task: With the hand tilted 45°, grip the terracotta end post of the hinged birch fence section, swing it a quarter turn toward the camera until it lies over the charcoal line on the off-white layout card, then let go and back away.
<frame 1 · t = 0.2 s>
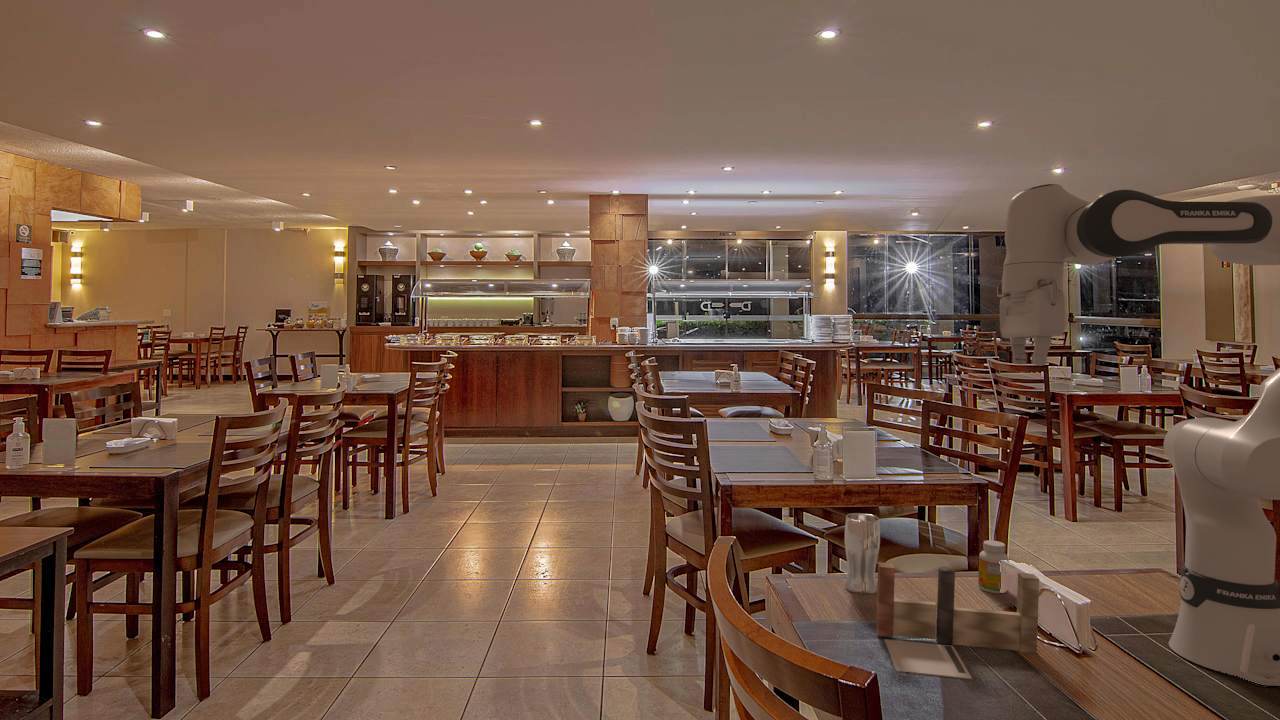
hand: (1028, 364, 113), 48 cm above the table, tool pointing down, fingers open, 8 cm apart
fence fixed: (985, 646, 113), on the table
supplement bottle: (992, 590, 139), on the table
beer glass: (860, 589, 138), on the table
fence gate: (906, 601, 116), point 7 cm above the table, hinge at 0.0°
layout card: (925, 658, 109), on the table
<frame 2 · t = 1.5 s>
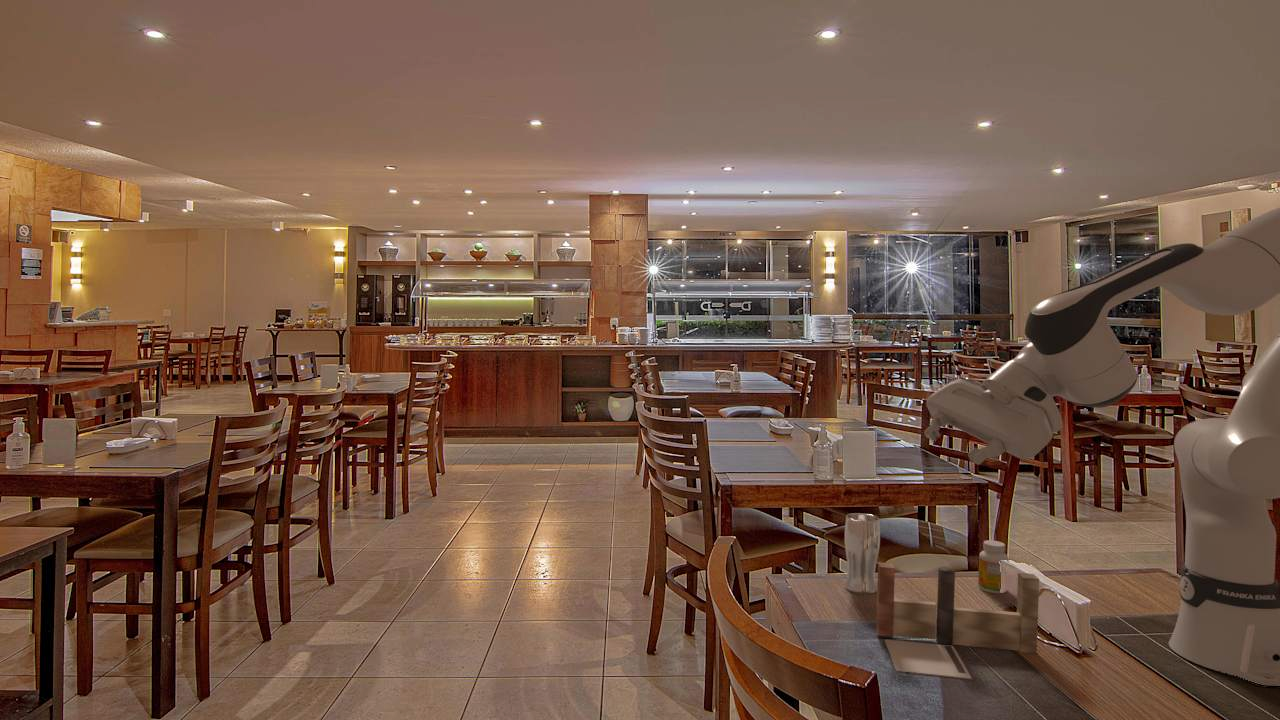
hand: (949, 448, 108), 34 cm above the table, tool tilted 50°, fingers open, 8 cm apart
nothing on the table moved.
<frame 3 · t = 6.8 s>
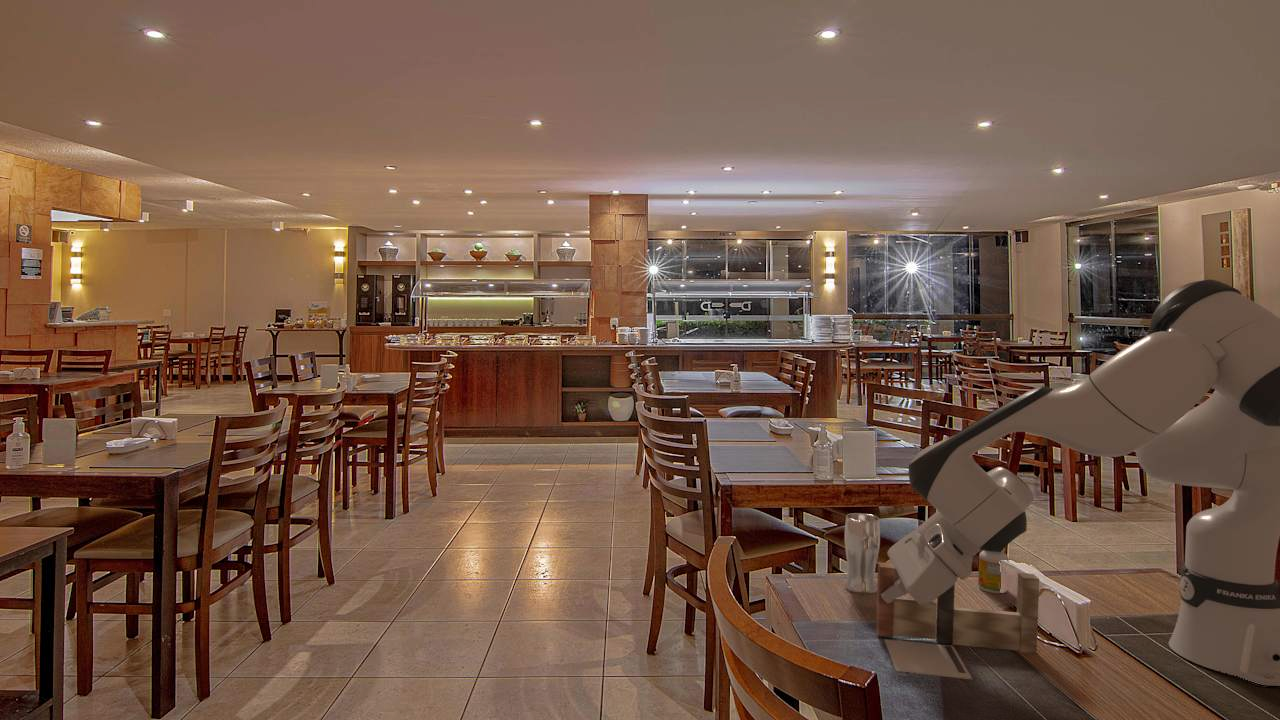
hand: (881, 594, 116), 7 cm above the table, tool tilted 45°, fingers closed on fence gate, 2 cm apart
fence gate: (906, 601, 116), point 7 cm above the table, hinge at 0.0°, touching gripper
everything else where it was.
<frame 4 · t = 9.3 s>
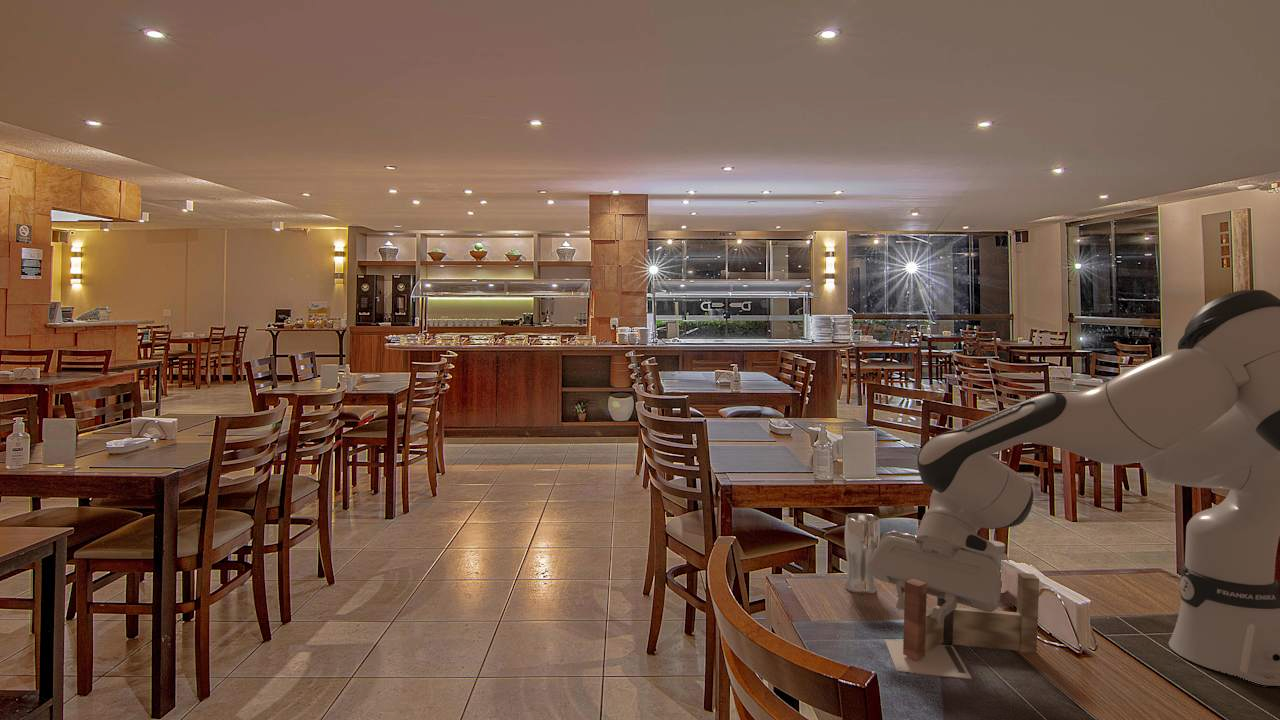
hand: (918, 616, 107), 7 cm above the table, tool tilted 45°, fingers open, 4 cm apart
fence gate: (926, 613, 111), point 7 cm above the table, hinge at 49.2°, touching gripper
everything else where it was.
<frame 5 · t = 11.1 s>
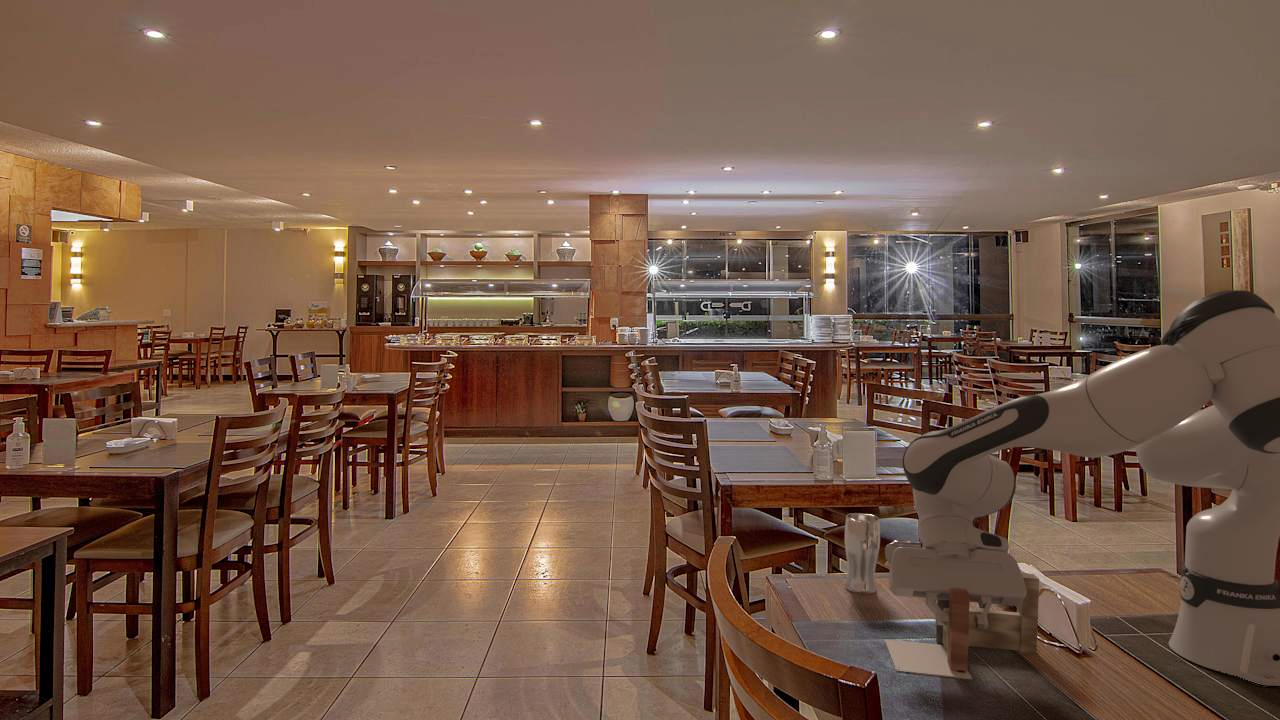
hand: (962, 625, 104), 7 cm above the table, tool tilted 45°, fingers open, 4 cm apart
fence gate: (953, 619, 108), point 7 cm above the table, hinge at 87.4°
everything else where it was.
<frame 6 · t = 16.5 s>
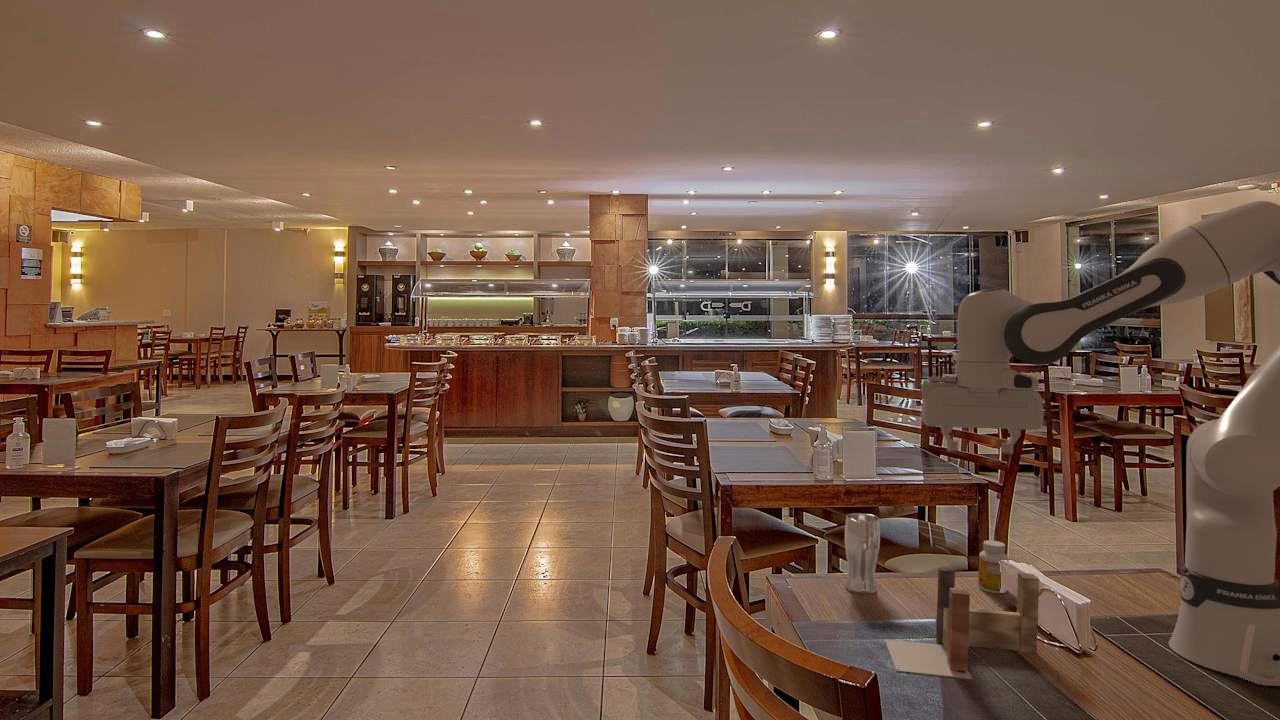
hand: (979, 452, 124), 31 cm above the table, tool pointing down, fingers open, 8 cm apart
nothing on the table moved.
at the end: fence gate at +87° (first picture: +0°); the gripper is holding nothing; beer glass moved 0.2 cm from its start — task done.
